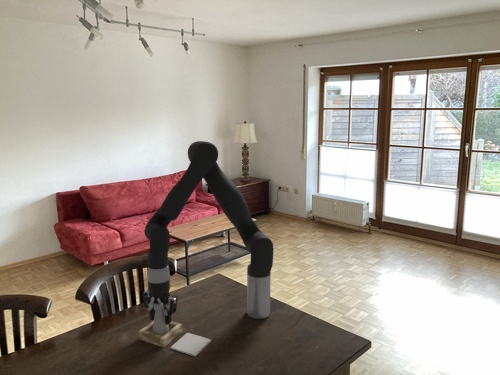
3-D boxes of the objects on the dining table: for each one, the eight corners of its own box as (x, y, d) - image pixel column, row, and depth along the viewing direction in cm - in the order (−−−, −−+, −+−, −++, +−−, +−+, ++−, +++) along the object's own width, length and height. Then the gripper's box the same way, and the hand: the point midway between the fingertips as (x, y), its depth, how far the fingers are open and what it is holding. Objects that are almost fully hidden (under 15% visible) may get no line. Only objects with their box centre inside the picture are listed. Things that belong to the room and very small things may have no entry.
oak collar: (158, 324, 151) (158, 317, 150) (182, 331, 146) (182, 324, 145) (138, 339, 141) (138, 331, 140) (163, 347, 136) (163, 339, 136)
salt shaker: (165, 341, 140) (163, 307, 138) (150, 339, 141) (148, 305, 139) (171, 332, 146) (170, 299, 143) (157, 330, 147) (155, 297, 144)
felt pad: (187, 334, 144) (187, 332, 144) (211, 341, 140) (211, 339, 140) (170, 348, 136) (170, 347, 136) (195, 356, 131) (195, 355, 131)
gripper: (181, 277, 139) (183, 321, 143) (149, 270, 145) (151, 312, 149) (168, 286, 133) (170, 331, 136) (135, 277, 139) (137, 321, 142)
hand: (160, 321), depth 142 cm, fingers open, 6 cm apart
